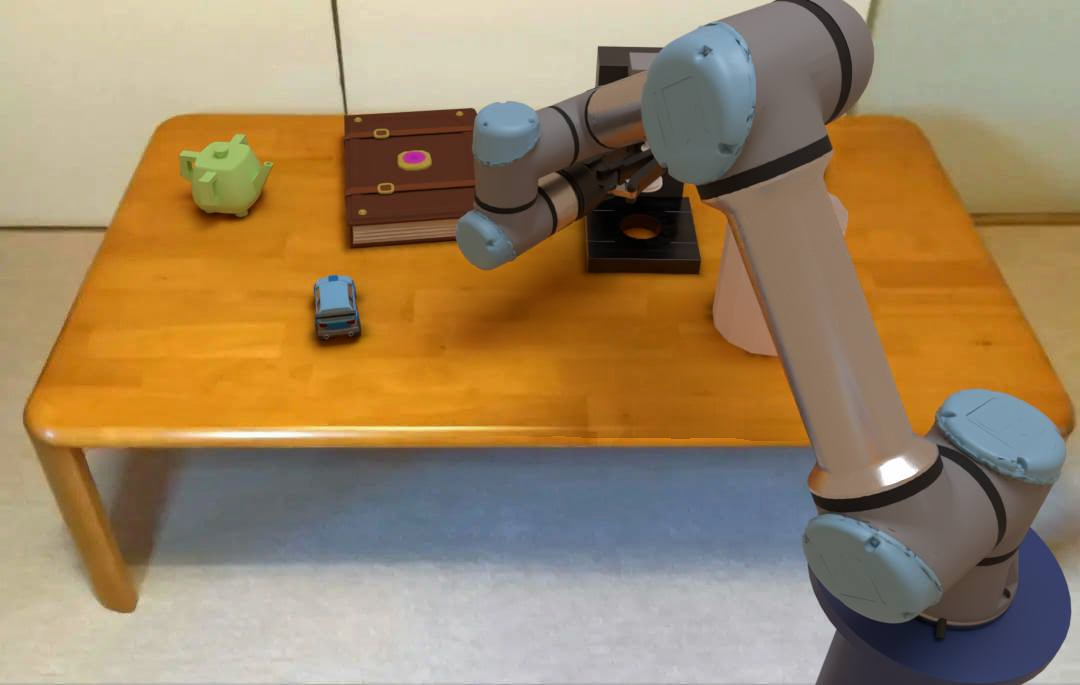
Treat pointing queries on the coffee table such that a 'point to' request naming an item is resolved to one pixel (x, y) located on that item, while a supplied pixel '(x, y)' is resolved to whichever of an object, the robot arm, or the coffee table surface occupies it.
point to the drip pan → (633, 255)
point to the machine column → (621, 65)
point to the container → (747, 297)
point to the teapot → (225, 176)
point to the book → (408, 175)
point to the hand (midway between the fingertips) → (673, 131)
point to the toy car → (336, 307)
